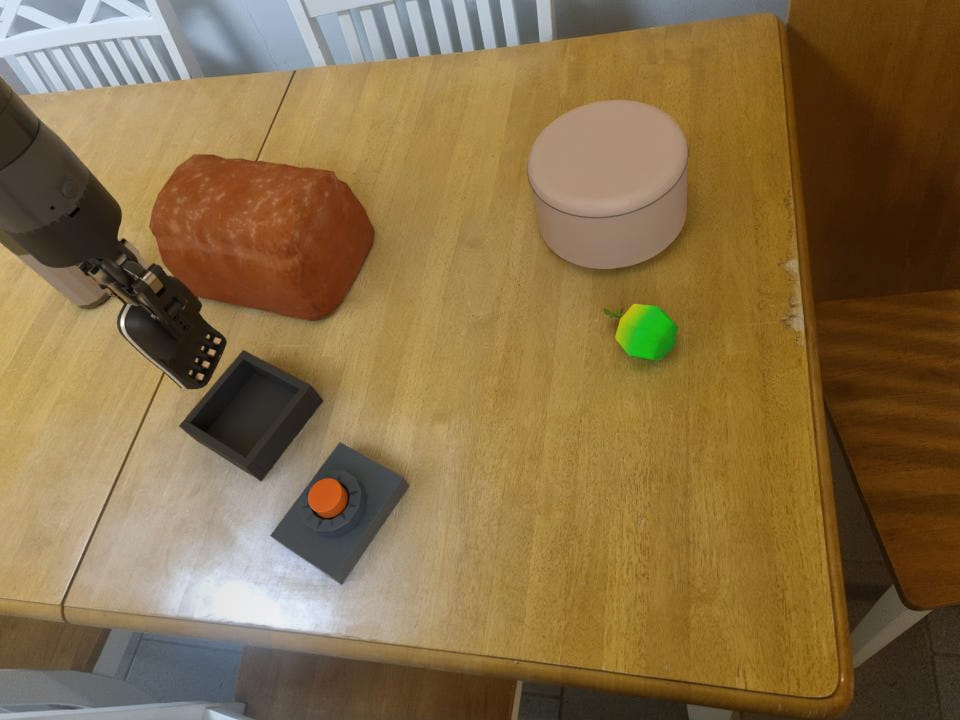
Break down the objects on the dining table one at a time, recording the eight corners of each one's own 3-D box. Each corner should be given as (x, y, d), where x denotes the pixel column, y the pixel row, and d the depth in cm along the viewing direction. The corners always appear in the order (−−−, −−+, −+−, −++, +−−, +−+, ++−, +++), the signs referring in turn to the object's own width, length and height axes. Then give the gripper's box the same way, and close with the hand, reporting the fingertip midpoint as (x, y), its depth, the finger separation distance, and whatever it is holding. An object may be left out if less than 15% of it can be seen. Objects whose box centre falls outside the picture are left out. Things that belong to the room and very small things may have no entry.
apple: (676, 319, 72) (599, 283, 77) (650, 376, 74) (577, 338, 79) (699, 317, 78) (626, 284, 83) (674, 370, 80) (605, 334, 85)
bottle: (64, 310, 105) (-124, 149, 80) (91, 271, 108) (-82, 106, 83) (101, 316, 102) (-81, 152, 78) (127, 277, 105) (-39, 107, 81)
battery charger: (211, 395, 72) (142, 329, 63) (179, 391, 73) (107, 326, 64) (238, 337, 76) (177, 266, 66) (207, 334, 77) (143, 264, 67)
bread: (329, 329, 92) (276, 252, 79) (181, 297, 101) (113, 223, 89) (385, 227, 99) (345, 143, 87) (243, 206, 108) (188, 127, 96)
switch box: (341, 585, 73) (326, 573, 70) (279, 542, 77) (261, 529, 74) (409, 485, 77) (397, 469, 74) (347, 450, 82) (333, 434, 78)
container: (689, 274, 84) (691, 201, 74) (534, 280, 89) (517, 213, 79) (685, 163, 93) (686, 86, 84) (545, 174, 98) (531, 102, 88)
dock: (261, 481, 82) (245, 468, 79) (195, 439, 87) (178, 426, 84) (323, 400, 86) (311, 385, 83) (257, 365, 91) (243, 349, 88)
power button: (333, 524, 73) (326, 518, 72) (307, 508, 75) (300, 501, 73) (355, 494, 74) (348, 487, 73) (329, 479, 76) (322, 472, 74)
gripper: (-47, 201, 57) (96, 327, 70) (55, 256, 50) (190, 383, 64) (26, 137, 59) (150, 271, 73) (133, 181, 53) (246, 318, 67)
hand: (168, 322), depth 68 cm, fingers closed on battery charger, 5 cm apart
